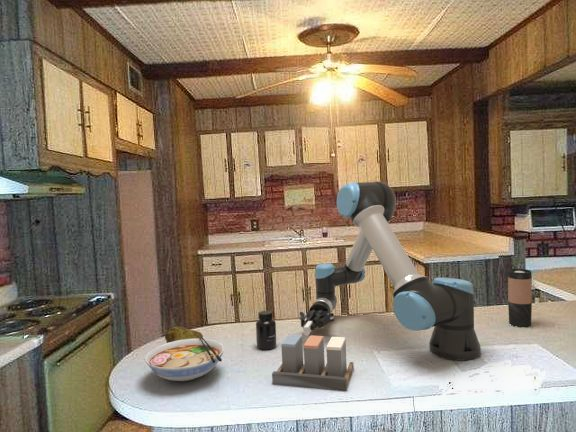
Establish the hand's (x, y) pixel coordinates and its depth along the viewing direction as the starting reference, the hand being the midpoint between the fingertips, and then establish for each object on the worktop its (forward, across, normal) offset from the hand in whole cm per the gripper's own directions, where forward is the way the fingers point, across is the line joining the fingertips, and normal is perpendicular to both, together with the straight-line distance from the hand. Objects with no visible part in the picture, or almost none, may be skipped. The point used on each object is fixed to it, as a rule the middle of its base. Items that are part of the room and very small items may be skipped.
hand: (305, 331), depth 141 cm
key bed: (+17, -6, -7) cm, 19 cm away
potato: (+4, +43, -7) cm, 43 cm away
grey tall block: (+16, -13, -7) cm, 22 cm away
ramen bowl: (+24, +31, -7) cm, 39 cm away
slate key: (+16, 0, -7) cm, 17 cm away
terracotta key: (+16, -6, -7) cm, 18 cm away
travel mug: (-39, -71, -7) cm, 81 cm away
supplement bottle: (-2, +15, -7) cm, 17 cm away
